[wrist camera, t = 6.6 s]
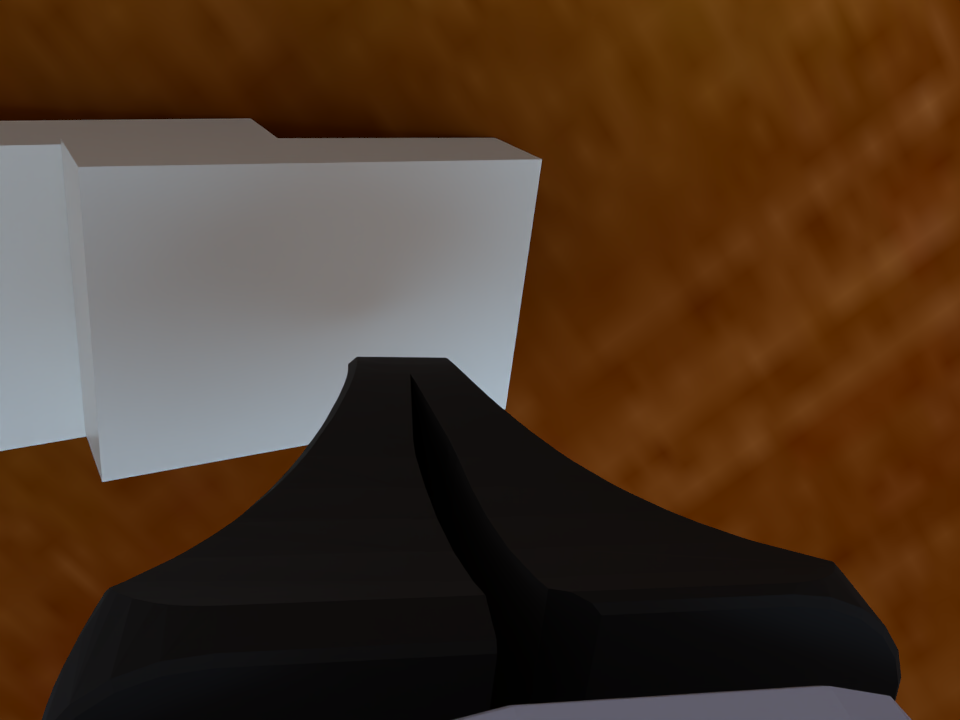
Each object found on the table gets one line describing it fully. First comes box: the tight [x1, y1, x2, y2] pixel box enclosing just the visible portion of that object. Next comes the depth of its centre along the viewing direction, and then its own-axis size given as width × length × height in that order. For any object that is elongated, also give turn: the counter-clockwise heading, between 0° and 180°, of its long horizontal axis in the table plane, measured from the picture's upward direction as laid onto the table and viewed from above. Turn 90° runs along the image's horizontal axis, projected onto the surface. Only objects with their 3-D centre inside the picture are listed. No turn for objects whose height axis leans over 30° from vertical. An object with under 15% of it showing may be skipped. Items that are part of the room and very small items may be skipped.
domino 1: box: [0, 118, 277, 451], centre depth 15 cm, size 2×5×8 cm
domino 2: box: [61, 138, 542, 482], centre depth 15 cm, size 2×5×8 cm
